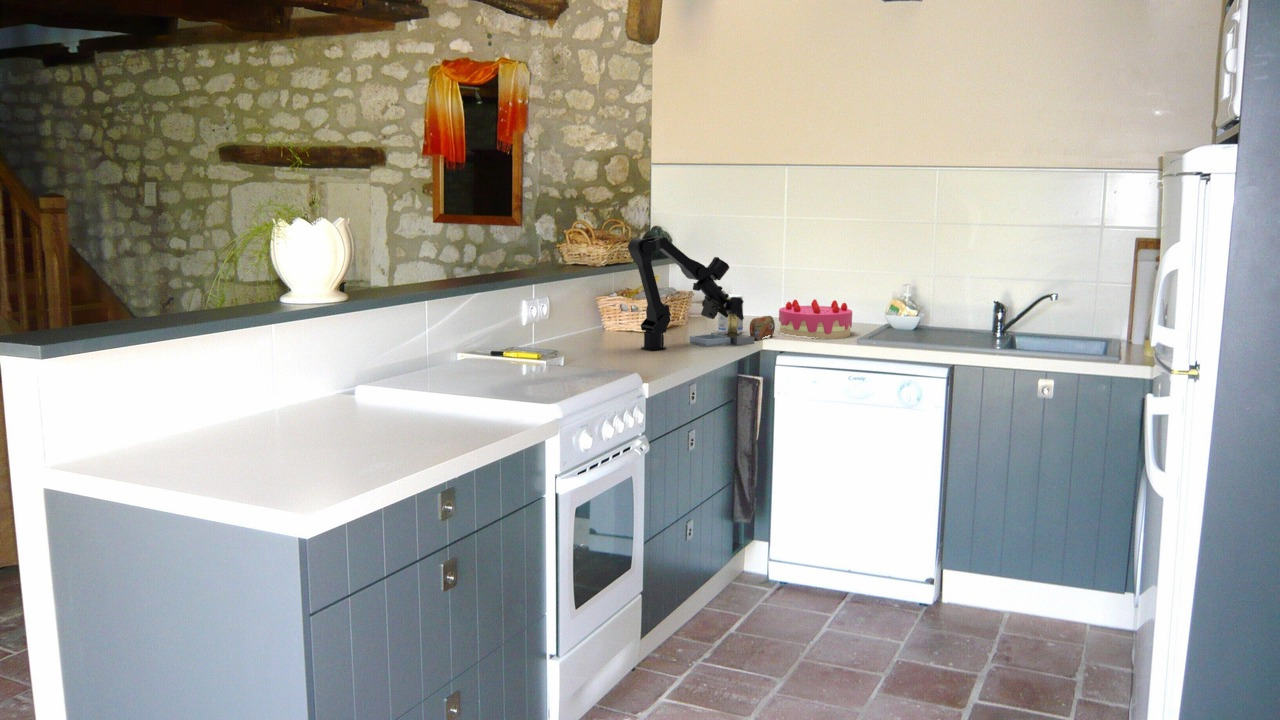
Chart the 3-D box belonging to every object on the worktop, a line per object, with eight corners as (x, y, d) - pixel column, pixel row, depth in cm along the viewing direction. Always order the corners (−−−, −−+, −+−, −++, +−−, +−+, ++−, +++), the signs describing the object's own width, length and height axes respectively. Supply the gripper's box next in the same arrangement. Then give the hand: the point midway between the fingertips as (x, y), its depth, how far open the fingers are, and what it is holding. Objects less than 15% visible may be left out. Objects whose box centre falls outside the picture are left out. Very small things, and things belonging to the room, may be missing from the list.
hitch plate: (736, 345, 361) (737, 338, 360) (710, 339, 374) (710, 332, 374) (754, 343, 365) (754, 336, 365) (728, 337, 378) (728, 331, 378)
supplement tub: (743, 331, 396) (744, 294, 393) (741, 334, 386) (742, 296, 384) (719, 330, 397) (719, 293, 395) (716, 334, 388) (717, 296, 386)
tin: (754, 341, 370) (755, 318, 369) (747, 340, 372) (748, 318, 371) (775, 336, 382) (775, 314, 381) (768, 336, 384) (768, 314, 383)
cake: (812, 327, 410) (813, 296, 407) (866, 335, 388) (868, 303, 386) (763, 332, 393) (764, 301, 391) (816, 341, 371) (818, 308, 369)
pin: (732, 342, 366) (733, 299, 363) (723, 341, 370) (723, 298, 367) (741, 341, 369) (742, 298, 367) (732, 340, 373) (732, 297, 370)
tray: (706, 346, 357) (706, 339, 357) (689, 342, 366) (689, 336, 366) (730, 344, 363) (730, 337, 362) (713, 340, 371) (713, 333, 371)
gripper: (683, 304, 367) (707, 331, 374) (713, 309, 351) (737, 337, 359) (701, 281, 369) (724, 309, 377) (731, 285, 354) (755, 314, 362)
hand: (735, 318), depth 369 cm, fingers open, 9 cm apart
